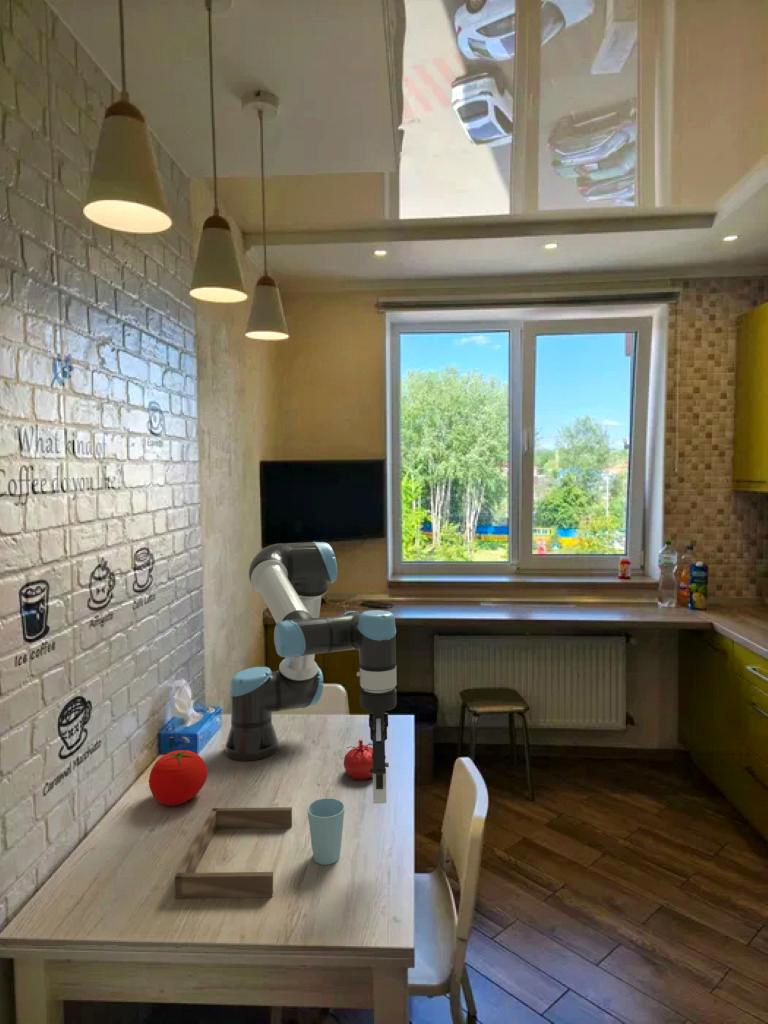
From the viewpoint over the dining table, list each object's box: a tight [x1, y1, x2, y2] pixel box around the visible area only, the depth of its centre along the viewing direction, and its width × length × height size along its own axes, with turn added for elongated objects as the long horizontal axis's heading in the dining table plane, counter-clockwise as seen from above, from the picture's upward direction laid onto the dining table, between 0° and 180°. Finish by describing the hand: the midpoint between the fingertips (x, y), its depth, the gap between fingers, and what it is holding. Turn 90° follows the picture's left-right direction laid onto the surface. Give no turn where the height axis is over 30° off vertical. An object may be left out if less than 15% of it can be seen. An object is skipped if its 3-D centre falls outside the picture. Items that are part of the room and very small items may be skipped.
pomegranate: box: [343, 739, 373, 781], centre depth 157 cm, size 10×10×9 cm
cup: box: [306, 797, 346, 866], centre depth 122 cm, size 8×8×10 cm
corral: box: [174, 806, 293, 899], centre depth 122 cm, size 24×18×4 cm
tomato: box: [148, 749, 209, 807], centre depth 145 cm, size 13×14×12 cm
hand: (379, 801), depth 121 cm, fingers closed
